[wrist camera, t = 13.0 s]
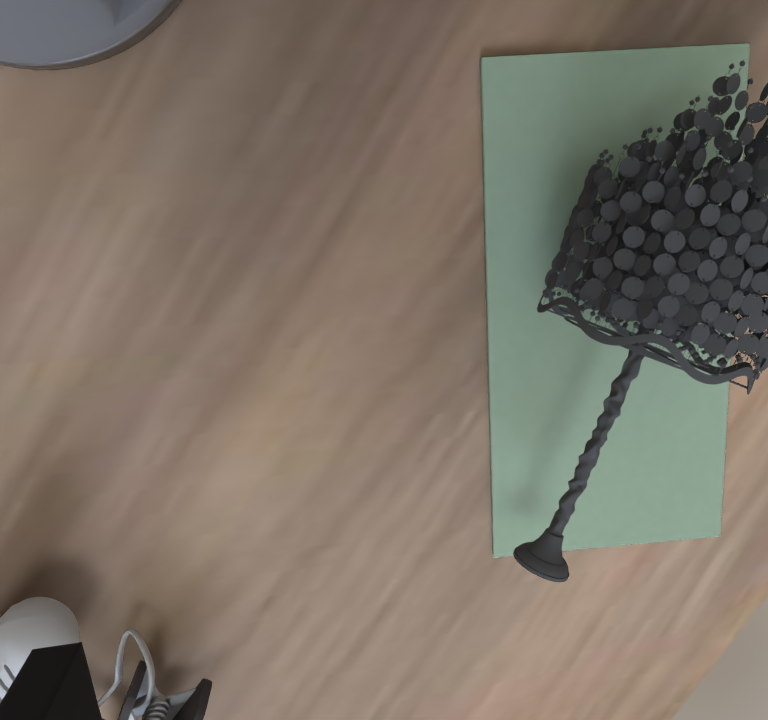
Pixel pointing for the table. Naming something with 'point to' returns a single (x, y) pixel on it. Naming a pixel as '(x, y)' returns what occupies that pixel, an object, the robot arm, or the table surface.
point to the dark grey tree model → (667, 267)
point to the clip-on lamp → (59, 627)
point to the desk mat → (568, 342)
